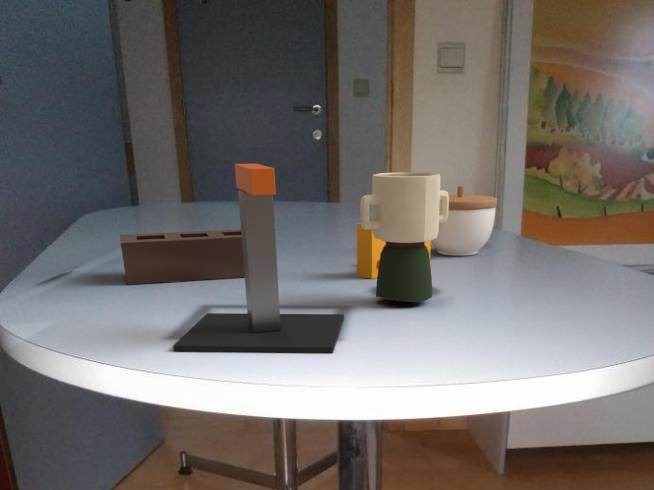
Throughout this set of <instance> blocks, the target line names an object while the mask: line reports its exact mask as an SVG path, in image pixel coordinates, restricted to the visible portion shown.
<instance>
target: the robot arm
mask: <svg viewBox="0 0 654 490" xmlns="http://www.w3.org/2000/svg"><path fill="white" fill-rule="evenodd" d="M131 1H132V0H123V2H126V3H128V2H129V3H131ZM199 2H200V5H202V6H208V0H199Z"/></svg>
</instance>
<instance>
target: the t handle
mask: <svg viewBox="0 0 654 490" xmlns="http://www.w3.org/2000/svg"><path fill="white" fill-rule="evenodd" d="M234 172H235V185H236V189H237V190H238V189H239V190H238V191H237V193H238V194H237V195H238V208H239V209H238V210H239V221H240V229H241V236H242V249H243V262H244V275H245V277H244V287H245V288H244V289H245V298H246V314H248V326H249V328H250V329H251V330H252V332H253V333H261V332H272V331H281V325H280V314H281V311H280V310H281V309H280V307H281V306H280V292H279V291H280V290H279V275H278V273H279V272H278V256H277V239H276V238H277V237H276V223H275V222H276V221H275V220H276V219H275V205H274V195H277V192H276V191H277V190H276V189H277V188H276V173H275V167H272V166H266V165H262V164H260V163H235V164H234Z"/></svg>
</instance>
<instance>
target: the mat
mask: <svg viewBox="0 0 654 490" xmlns="http://www.w3.org/2000/svg"><path fill="white" fill-rule="evenodd" d="M344 320H345V314H343V313H337V314H336V313H280V325H281V331H272V332H261V333H253V332H252V330H251V329H250V328H249V326H248V313H234V312H233V313H230V312H228V313H227V312H226V313H225V312H223V313H220V312H215V313H214V312H207V313H205V315H203V317H201V318H200V320H198V321H197V322H196V323H195V324H194V325H193V326H192V327H191V328H190V329H189V330H188V331H187V332H186V333H184V335H183V336H181V337H180V339H179V340H177V341H176V342H175V343H174V344H173V345H172V349H173V352H218V353H219V352H221V353H222V352H223V353H225V352H226V353H227V352H230V353H234V352H235V353H311V354H312V353H316V354H317V353H319V354H320V353H323V354H326V353H327V354H329V353H330V354H333V353H334V351H335V349H336V348H335V347H336V345H337V341H338V338H339V336H340V332H341V329H342V327H343V323H344Z"/></svg>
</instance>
